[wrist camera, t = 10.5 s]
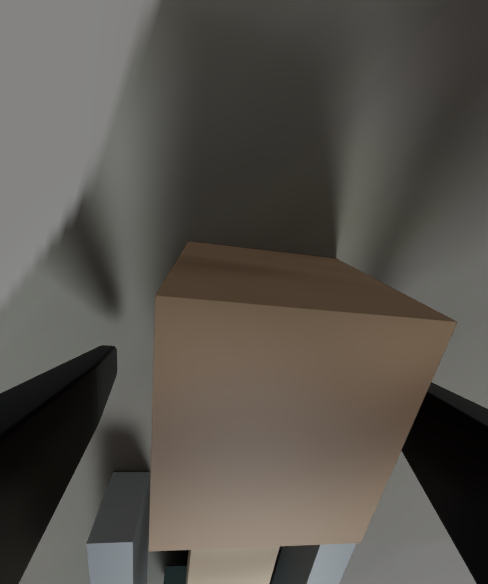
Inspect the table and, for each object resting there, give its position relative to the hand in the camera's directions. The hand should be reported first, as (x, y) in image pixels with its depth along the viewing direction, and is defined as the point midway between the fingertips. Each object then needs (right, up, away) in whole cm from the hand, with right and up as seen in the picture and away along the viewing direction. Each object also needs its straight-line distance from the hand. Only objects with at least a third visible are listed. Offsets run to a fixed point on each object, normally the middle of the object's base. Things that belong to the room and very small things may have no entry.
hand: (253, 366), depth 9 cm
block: (0, +1, +1) cm, 1 cm away
